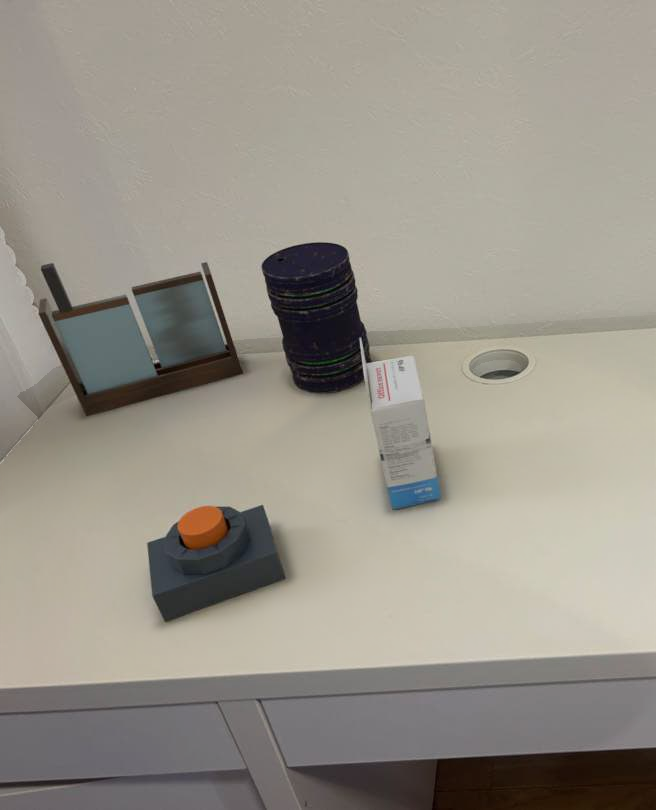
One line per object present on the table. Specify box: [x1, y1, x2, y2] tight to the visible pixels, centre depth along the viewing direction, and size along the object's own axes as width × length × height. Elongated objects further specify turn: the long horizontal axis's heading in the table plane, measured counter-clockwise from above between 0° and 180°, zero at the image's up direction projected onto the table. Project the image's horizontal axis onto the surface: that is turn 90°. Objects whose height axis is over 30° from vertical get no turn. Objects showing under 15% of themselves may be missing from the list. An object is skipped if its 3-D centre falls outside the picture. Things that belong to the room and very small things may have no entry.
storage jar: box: [260, 241, 373, 395], centre depth 94 cm, size 10×10×15 cm
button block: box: [146, 504, 287, 623], centre depth 69 cm, size 10×7×5 cm
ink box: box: [360, 337, 441, 510], centre depth 75 cm, size 8×5×15 cm, turn 14°
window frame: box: [37, 261, 244, 417], centre depth 94 cm, size 18×4×14 cm, turn 116°
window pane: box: [40, 262, 158, 394], centre depth 90 cm, size 8×1×16 cm, turn 116°
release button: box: [177, 505, 228, 549], centre depth 67 cm, size 4×4×2 cm
